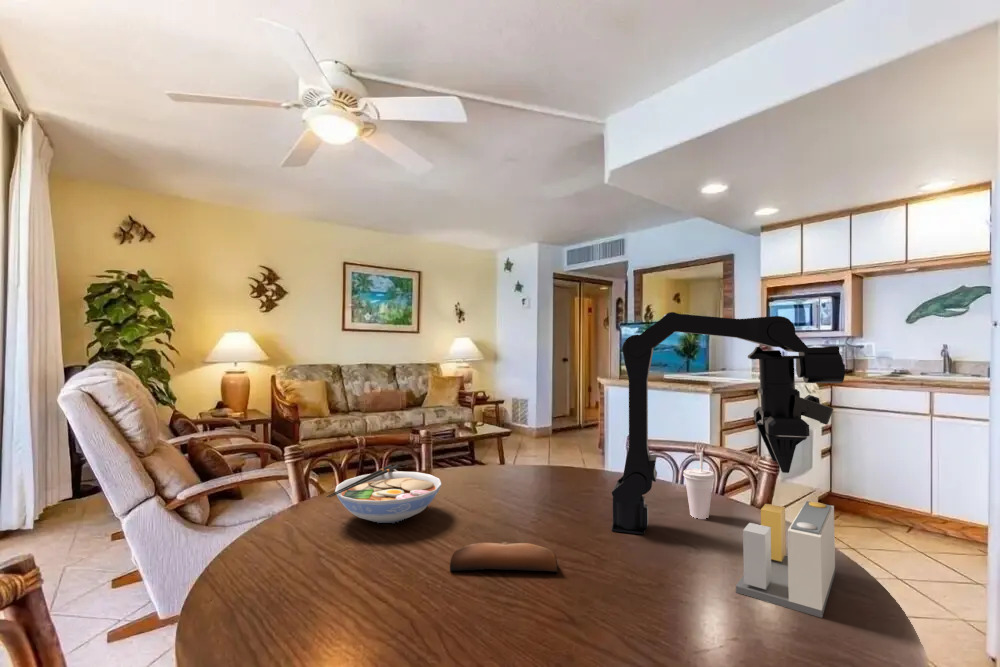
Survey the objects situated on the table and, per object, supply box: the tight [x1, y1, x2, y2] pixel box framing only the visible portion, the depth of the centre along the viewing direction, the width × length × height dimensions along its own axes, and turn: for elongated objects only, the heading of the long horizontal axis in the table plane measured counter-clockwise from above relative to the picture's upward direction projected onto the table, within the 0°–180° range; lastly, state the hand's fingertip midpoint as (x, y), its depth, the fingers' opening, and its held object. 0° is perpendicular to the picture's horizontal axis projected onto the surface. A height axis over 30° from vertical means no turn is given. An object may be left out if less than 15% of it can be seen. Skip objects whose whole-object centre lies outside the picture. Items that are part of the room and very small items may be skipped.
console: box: [735, 500, 836, 619], centre depth 78 cm, size 11×17×12 cm, turn 141°
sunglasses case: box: [449, 542, 558, 575], centre depth 85 cm, size 18×7×7 cm, turn 87°
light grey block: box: [742, 522, 772, 589], centre depth 75 cm, size 3×4×8 cm
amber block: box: [760, 503, 787, 562], centre depth 84 cm, size 3×4×8 cm
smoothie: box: [682, 451, 715, 520], centre depth 108 cm, size 6×6×14 cm
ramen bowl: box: [326, 464, 443, 524], centre depth 107 cm, size 25×23×8 cm
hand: (780, 466), depth 92 cm, fingers open, 9 cm apart
